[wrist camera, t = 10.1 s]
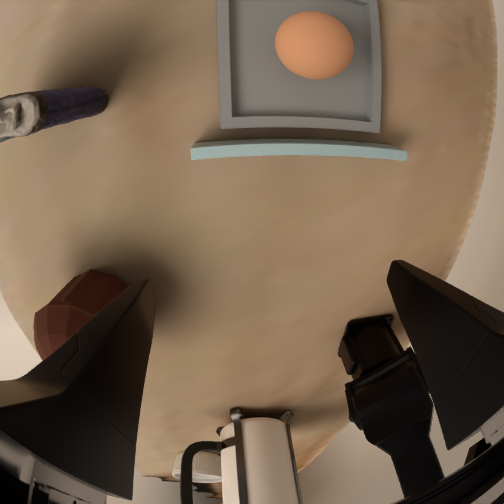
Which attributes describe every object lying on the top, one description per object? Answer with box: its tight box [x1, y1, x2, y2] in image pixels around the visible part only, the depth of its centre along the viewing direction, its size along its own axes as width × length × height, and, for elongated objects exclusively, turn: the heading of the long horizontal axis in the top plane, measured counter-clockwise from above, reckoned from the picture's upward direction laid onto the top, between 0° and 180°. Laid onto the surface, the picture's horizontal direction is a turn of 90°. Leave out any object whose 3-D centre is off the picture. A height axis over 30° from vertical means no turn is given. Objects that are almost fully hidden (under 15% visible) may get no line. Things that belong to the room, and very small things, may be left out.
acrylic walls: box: [190, 139, 407, 161], centre depth 15 cm, size 16×16×2 cm
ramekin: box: [172, 451, 222, 483], centre depth 51 cm, size 13×13×7 cm
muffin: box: [34, 270, 128, 360], centre depth 22 cm, size 12×11×10 cm
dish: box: [217, 0, 382, 133], centre depth 15 cm, size 12×12×1 cm
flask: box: [0, 86, 109, 142], centre depth 11 cm, size 9×3×11 cm, turn 87°
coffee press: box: [180, 408, 303, 504], centre depth 30 cm, size 17×16×30 cm
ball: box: [275, 11, 354, 80], centre depth 13 cm, size 5×5×5 cm
